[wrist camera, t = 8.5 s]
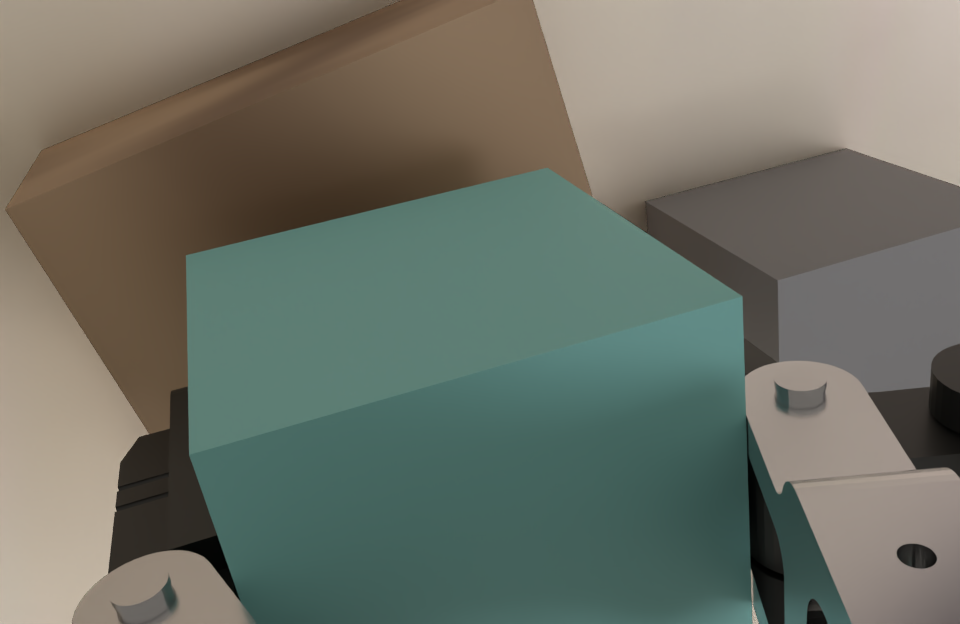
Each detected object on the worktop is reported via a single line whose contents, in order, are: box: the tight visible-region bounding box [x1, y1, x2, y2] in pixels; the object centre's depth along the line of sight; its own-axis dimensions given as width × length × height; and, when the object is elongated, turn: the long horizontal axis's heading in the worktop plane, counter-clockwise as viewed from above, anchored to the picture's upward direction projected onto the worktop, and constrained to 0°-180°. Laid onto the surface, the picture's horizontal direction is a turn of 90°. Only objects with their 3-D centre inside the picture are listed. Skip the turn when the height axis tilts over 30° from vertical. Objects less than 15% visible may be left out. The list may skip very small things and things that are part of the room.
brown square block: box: [5, 0, 592, 434], centre depth 16 cm, size 8×8×4 cm
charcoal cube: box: [645, 149, 960, 393], centre depth 19 cm, size 5×5×5 cm
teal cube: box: [186, 168, 752, 624], centre depth 11 cm, size 5×5×5 cm
